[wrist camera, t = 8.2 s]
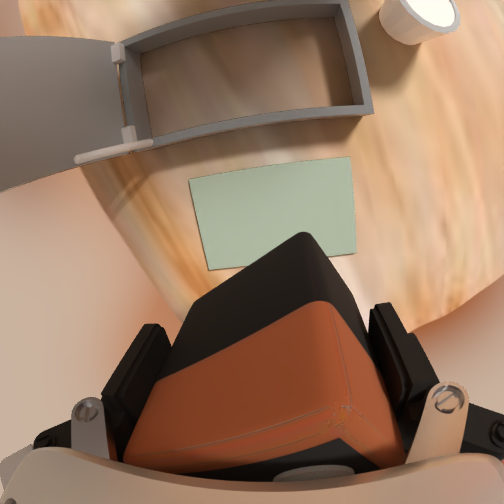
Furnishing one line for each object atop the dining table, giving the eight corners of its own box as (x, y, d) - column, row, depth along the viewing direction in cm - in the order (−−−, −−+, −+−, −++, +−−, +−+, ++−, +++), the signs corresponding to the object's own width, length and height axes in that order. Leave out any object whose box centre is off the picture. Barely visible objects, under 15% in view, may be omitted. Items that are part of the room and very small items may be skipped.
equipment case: (339, 11, 20) (366, -42, 9) (363, 116, 24) (410, 106, 14) (123, 54, 23) (60, 31, 13) (138, 153, 27) (73, 166, 17)
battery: (354, 295, 13) (418, 498, 4) (243, 356, 15) (212, 532, 6) (305, 223, 12) (357, 460, 3) (189, 301, 14) (102, 486, 5)
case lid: (-93, 56, 1) (-94, 64, 2) (-92, 239, 6) (-91, 239, 6) (114, 42, 19) (107, 46, 19) (129, 153, 23) (122, 155, 24)
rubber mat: (349, 156, 26) (350, 157, 25) (355, 251, 29) (356, 252, 29) (189, 179, 28) (188, 179, 28) (209, 268, 32) (209, 269, 31)
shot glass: (435, 22, 18) (466, 4, 11) (419, 62, 20) (453, 47, 14) (383, -12, 17) (405, -39, 11) (364, 26, 20) (385, 0, 13)
